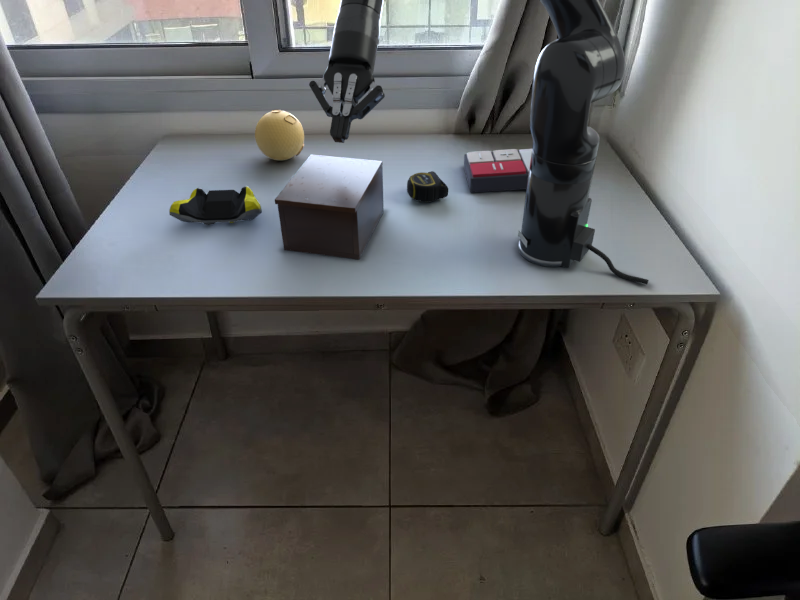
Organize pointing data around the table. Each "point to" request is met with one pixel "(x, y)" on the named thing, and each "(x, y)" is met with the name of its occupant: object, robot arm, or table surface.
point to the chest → (333, 226)
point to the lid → (330, 183)
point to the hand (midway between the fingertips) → (338, 140)
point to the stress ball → (279, 135)
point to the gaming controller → (217, 206)
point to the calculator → (497, 170)
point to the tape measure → (426, 187)
